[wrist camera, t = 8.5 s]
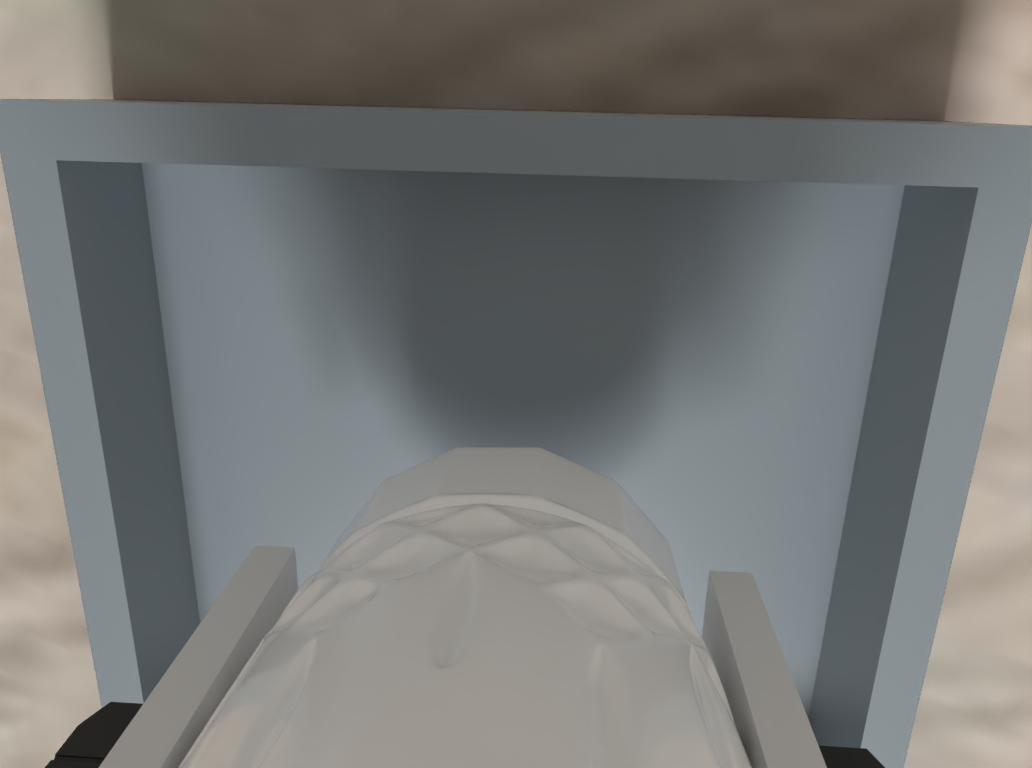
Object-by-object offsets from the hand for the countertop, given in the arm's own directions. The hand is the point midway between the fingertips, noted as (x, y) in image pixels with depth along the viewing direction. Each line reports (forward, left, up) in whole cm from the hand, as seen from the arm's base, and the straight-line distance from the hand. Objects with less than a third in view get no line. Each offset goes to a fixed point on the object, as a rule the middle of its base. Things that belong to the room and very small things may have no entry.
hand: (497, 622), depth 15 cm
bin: (0, 0, -6) cm, 6 cm away
